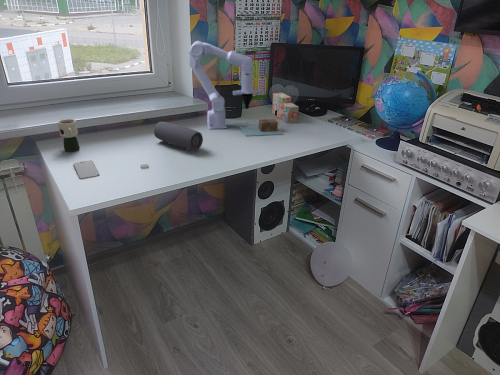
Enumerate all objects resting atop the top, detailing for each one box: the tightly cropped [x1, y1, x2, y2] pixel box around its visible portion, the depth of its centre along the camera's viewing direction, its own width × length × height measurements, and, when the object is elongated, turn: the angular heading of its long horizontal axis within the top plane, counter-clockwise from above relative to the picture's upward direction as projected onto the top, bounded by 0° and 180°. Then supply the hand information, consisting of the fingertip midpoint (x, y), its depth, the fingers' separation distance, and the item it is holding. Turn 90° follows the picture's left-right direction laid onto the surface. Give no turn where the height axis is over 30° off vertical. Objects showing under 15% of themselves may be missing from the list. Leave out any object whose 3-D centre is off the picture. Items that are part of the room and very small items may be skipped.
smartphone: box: [73, 160, 100, 180], centre depth 147 cm, size 7×1×15 cm
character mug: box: [57, 118, 81, 152], centre depth 162 cm, size 11×7×13 cm, turn 33°
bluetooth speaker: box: [153, 121, 204, 151], centre depth 172 cm, size 23×9×10 cm, turn 56°
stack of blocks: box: [271, 92, 299, 124], centre depth 218 cm, size 21×6×12 cm, turn 21°
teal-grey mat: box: [239, 125, 284, 137], centre depth 198 cm, size 20×14×1 cm
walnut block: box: [258, 118, 279, 132], centre depth 197 cm, size 5×5×9 cm
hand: (246, 108), depth 197 cm, fingers closed
